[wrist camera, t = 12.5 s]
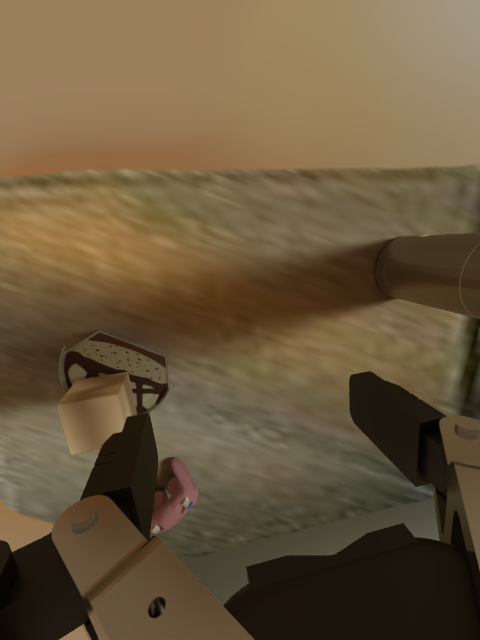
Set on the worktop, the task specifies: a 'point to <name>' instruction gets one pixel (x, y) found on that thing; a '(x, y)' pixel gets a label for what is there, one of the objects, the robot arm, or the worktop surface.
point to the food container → (118, 367)
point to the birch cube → (95, 410)
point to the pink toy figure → (173, 499)
